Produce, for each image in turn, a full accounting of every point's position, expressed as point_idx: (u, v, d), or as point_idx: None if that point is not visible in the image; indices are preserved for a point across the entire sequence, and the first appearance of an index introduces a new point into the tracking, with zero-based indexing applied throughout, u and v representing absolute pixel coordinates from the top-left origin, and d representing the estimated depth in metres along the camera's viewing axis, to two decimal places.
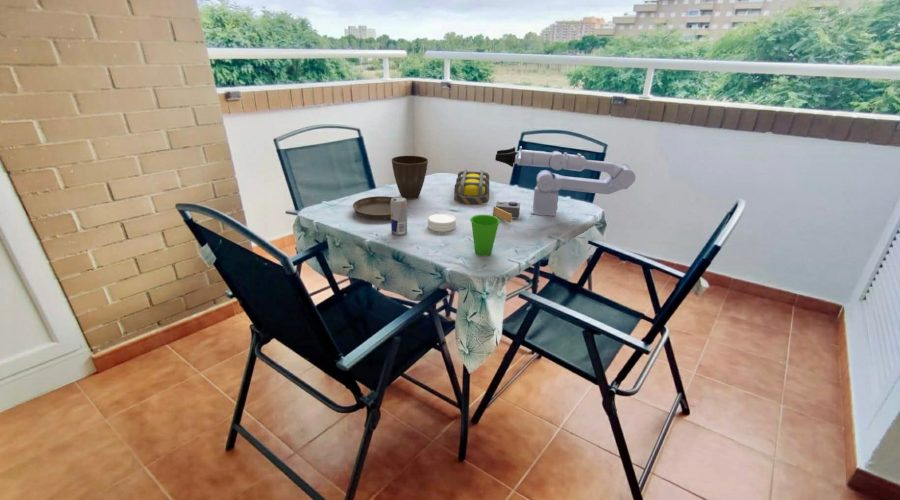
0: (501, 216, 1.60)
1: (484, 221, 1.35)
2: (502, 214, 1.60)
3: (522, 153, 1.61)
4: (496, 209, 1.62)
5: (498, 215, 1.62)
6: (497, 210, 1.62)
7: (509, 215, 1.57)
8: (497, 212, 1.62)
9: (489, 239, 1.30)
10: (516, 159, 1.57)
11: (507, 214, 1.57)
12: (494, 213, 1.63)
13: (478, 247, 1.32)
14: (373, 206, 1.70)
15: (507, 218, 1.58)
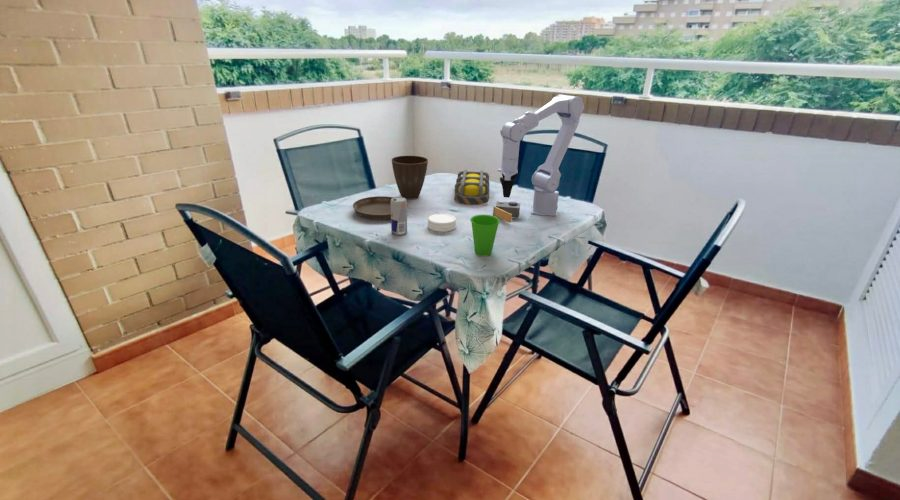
0: (501, 216, 1.60)
1: (484, 221, 1.35)
2: (502, 214, 1.60)
3: (503, 169, 1.54)
4: (496, 209, 1.62)
5: (498, 215, 1.62)
6: (497, 210, 1.62)
7: (509, 215, 1.57)
8: (497, 212, 1.62)
9: (489, 239, 1.30)
10: (505, 178, 1.50)
11: (507, 214, 1.57)
12: (494, 213, 1.63)
13: (478, 247, 1.32)
14: (373, 206, 1.70)
15: (507, 218, 1.58)
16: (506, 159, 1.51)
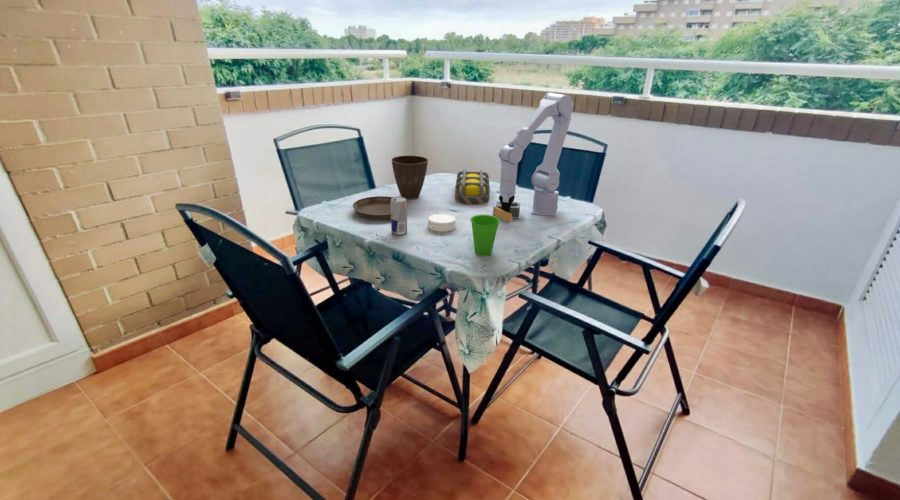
0: (501, 216, 1.60)
1: (484, 221, 1.35)
2: (502, 214, 1.60)
3: (501, 190, 1.56)
4: (496, 209, 1.62)
5: (498, 215, 1.62)
6: (497, 210, 1.62)
7: (509, 215, 1.57)
8: (497, 212, 1.62)
9: (489, 239, 1.30)
10: (504, 200, 1.52)
11: (507, 214, 1.57)
12: (494, 213, 1.63)
13: (478, 247, 1.32)
14: (373, 206, 1.70)
15: (507, 218, 1.58)
16: (504, 181, 1.54)
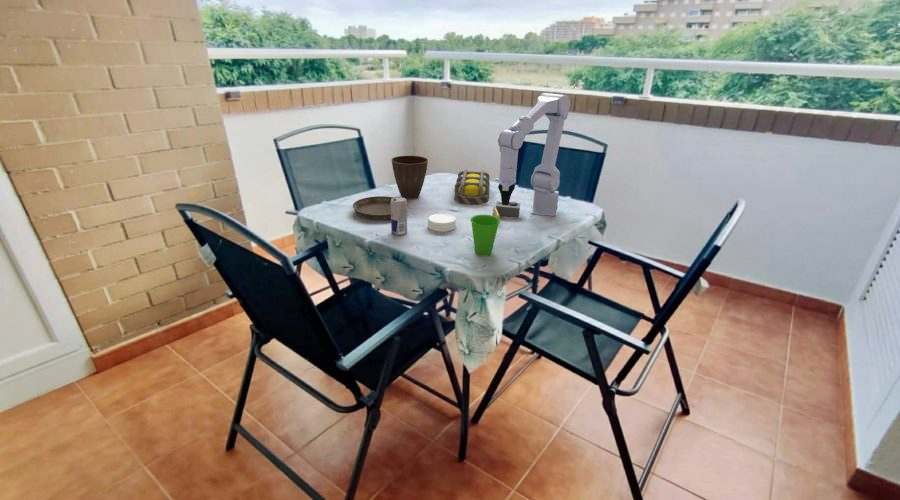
0: (495, 216, 1.60)
1: (484, 221, 1.35)
2: (495, 215, 1.59)
3: (501, 178, 1.46)
4: (494, 209, 1.62)
5: (494, 215, 1.62)
6: (494, 211, 1.61)
7: (497, 216, 1.55)
8: (494, 212, 1.62)
9: (489, 239, 1.30)
10: (503, 189, 1.42)
11: (496, 215, 1.56)
12: (493, 213, 1.64)
13: (478, 247, 1.32)
14: (373, 206, 1.70)
15: None
16: (504, 168, 1.44)
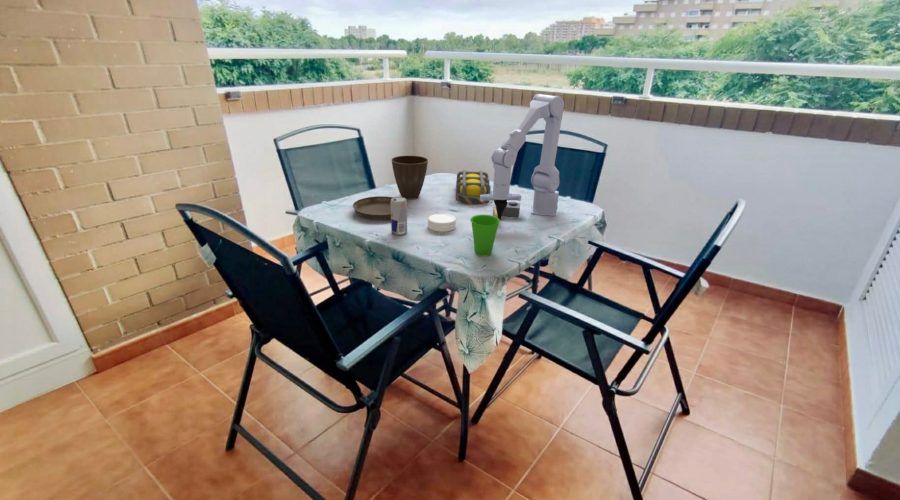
0: None
1: (484, 221, 1.35)
2: (494, 214, 1.59)
3: None
4: (494, 209, 1.62)
5: None
6: (494, 211, 1.61)
7: (495, 216, 1.55)
8: (494, 212, 1.62)
9: (489, 239, 1.30)
10: (480, 198, 1.54)
11: (495, 215, 1.56)
12: (493, 213, 1.64)
13: (478, 247, 1.32)
14: (373, 206, 1.70)
15: None
16: None
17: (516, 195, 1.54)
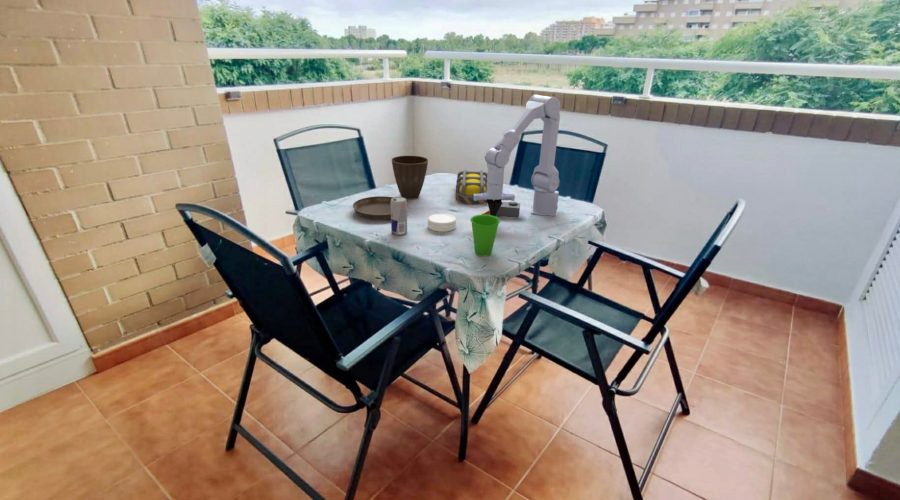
0: None
1: (484, 221, 1.35)
2: None
3: None
4: None
5: None
6: None
7: None
8: None
9: (489, 239, 1.30)
10: None
11: None
12: None
13: (478, 247, 1.32)
14: (373, 206, 1.70)
15: None
16: None
17: (510, 195, 1.54)
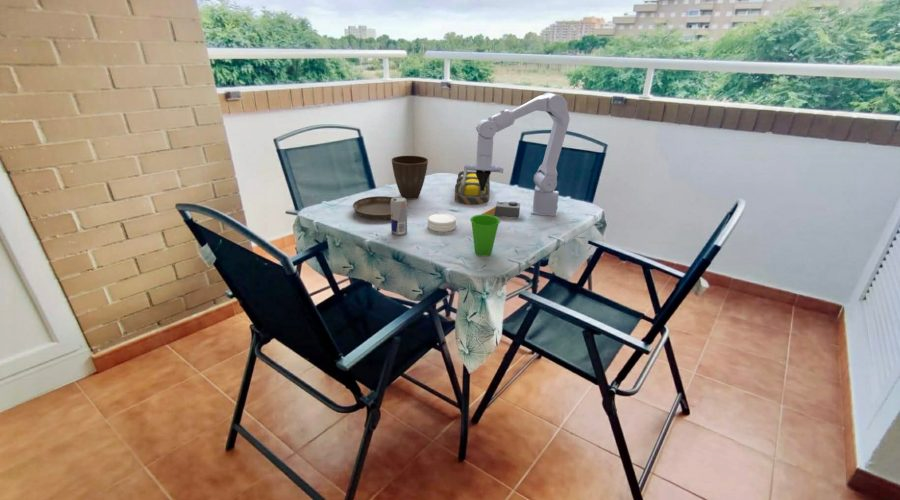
0: None
1: (484, 221, 1.35)
2: None
3: None
4: None
5: None
6: None
7: None
8: None
9: (489, 239, 1.30)
10: None
11: None
12: None
13: (478, 247, 1.32)
14: (373, 206, 1.70)
15: None
16: None
17: (499, 167, 1.58)
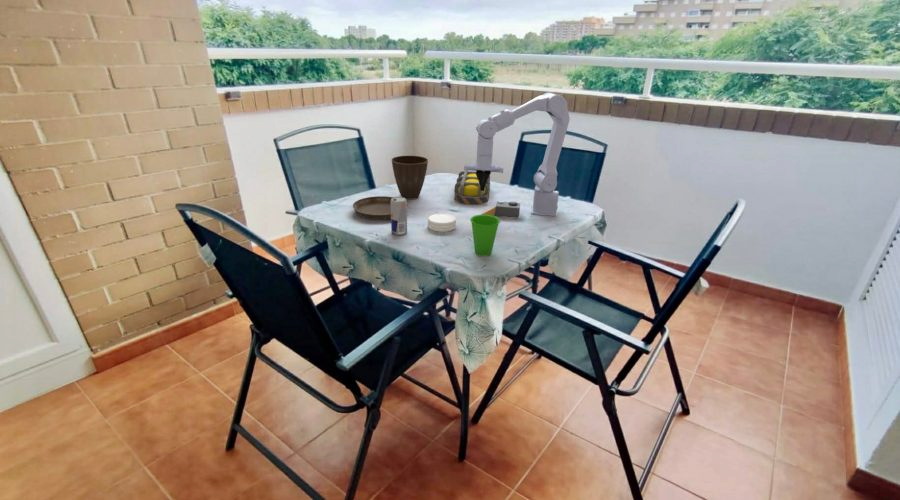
0: None
1: (484, 221, 1.35)
2: None
3: None
4: None
5: None
6: None
7: None
8: None
9: (489, 239, 1.30)
10: None
11: None
12: None
13: (478, 247, 1.32)
14: (373, 206, 1.70)
15: None
16: None
17: (499, 167, 1.58)
